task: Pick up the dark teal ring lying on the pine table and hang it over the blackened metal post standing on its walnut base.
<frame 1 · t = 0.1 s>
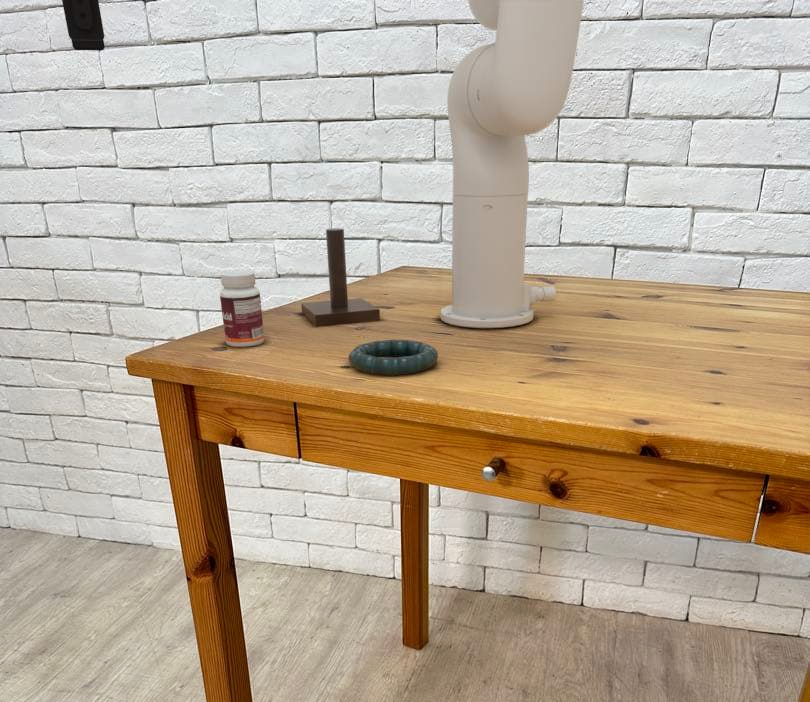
hand: (88, 45, 77), 31 cm above the table, tool pointing down, fingers open, 9 cm apart
pill bottle: (245, 344, 95), on the table
post: (340, 316, 108), on the table
ring: (393, 356, 85), point 1 cm above the table
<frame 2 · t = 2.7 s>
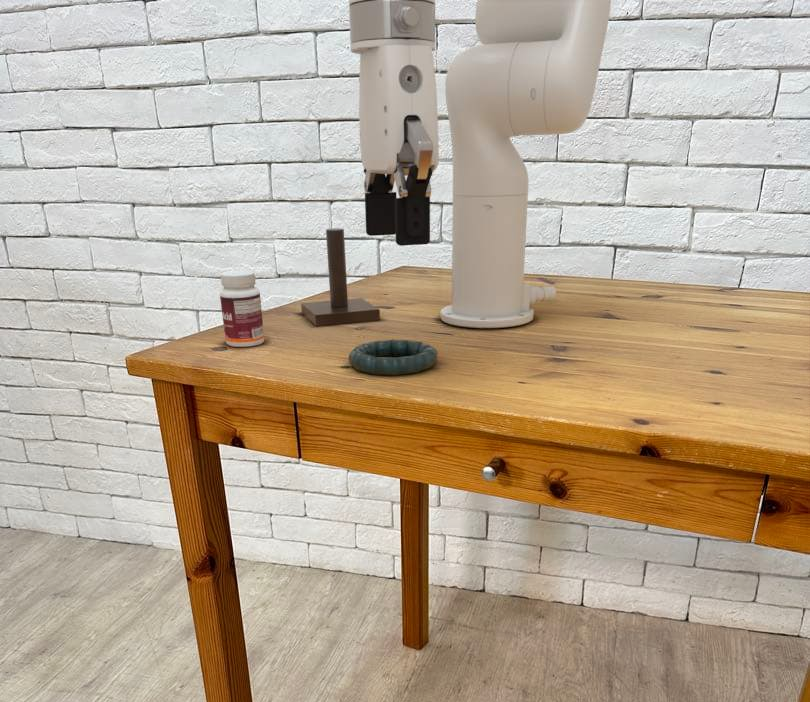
hand: (396, 239, 75), 13 cm above the table, tool pointing down, fingers open, 9 cm apart
nothing on the table moved.
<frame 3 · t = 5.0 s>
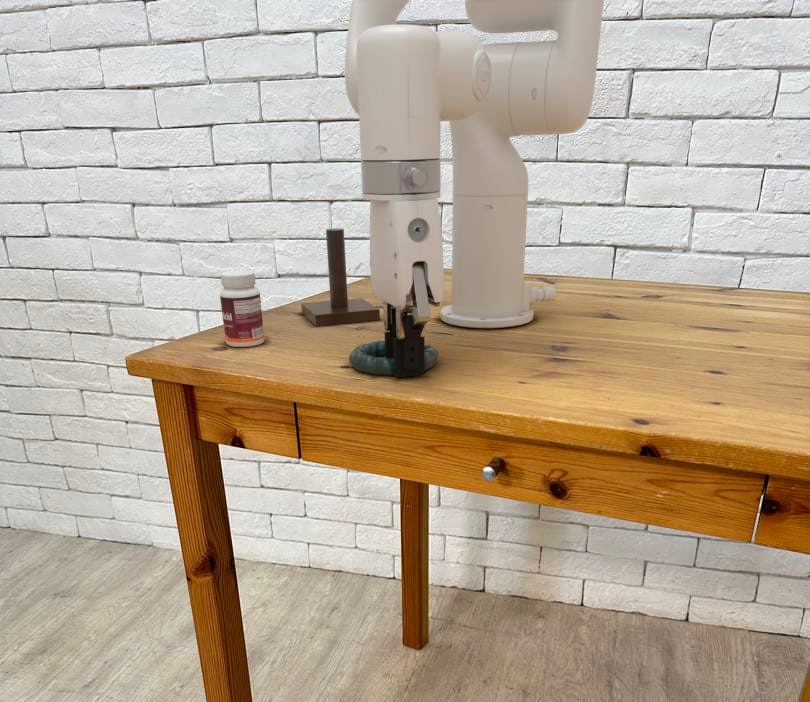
hand: (405, 370, 82), 0 cm above the table, tool pointing down, fingers closed on ring, 2 cm apart
ring: (393, 357, 84), point 1 cm above the table, touching gripper
everything else where it was.
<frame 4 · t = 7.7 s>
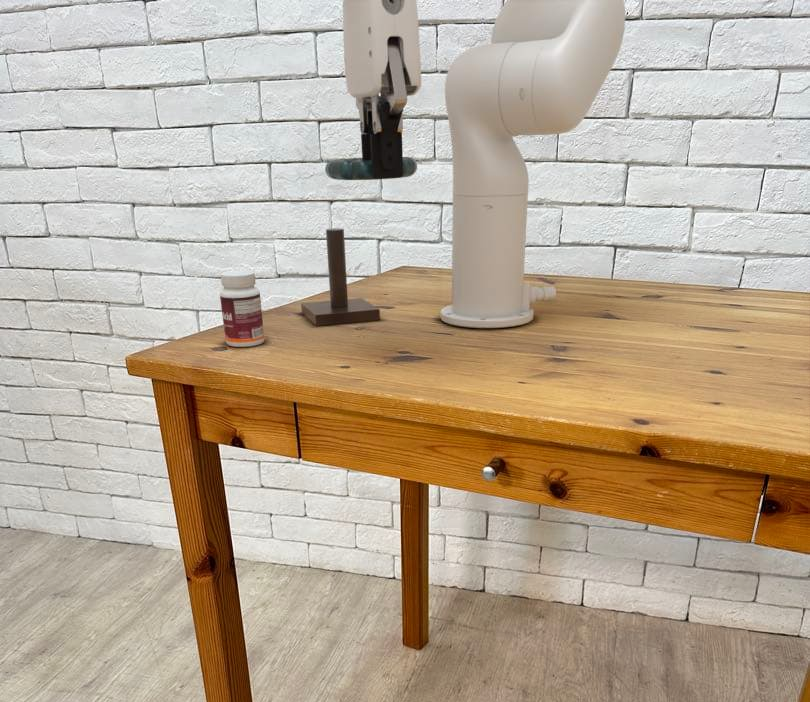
hand: (382, 175, 79), 19 cm above the table, tool pointing down, fingers closed on ring
ring: (371, 168, 82), point 19 cm above the table, touching gripper
everything else where it was.
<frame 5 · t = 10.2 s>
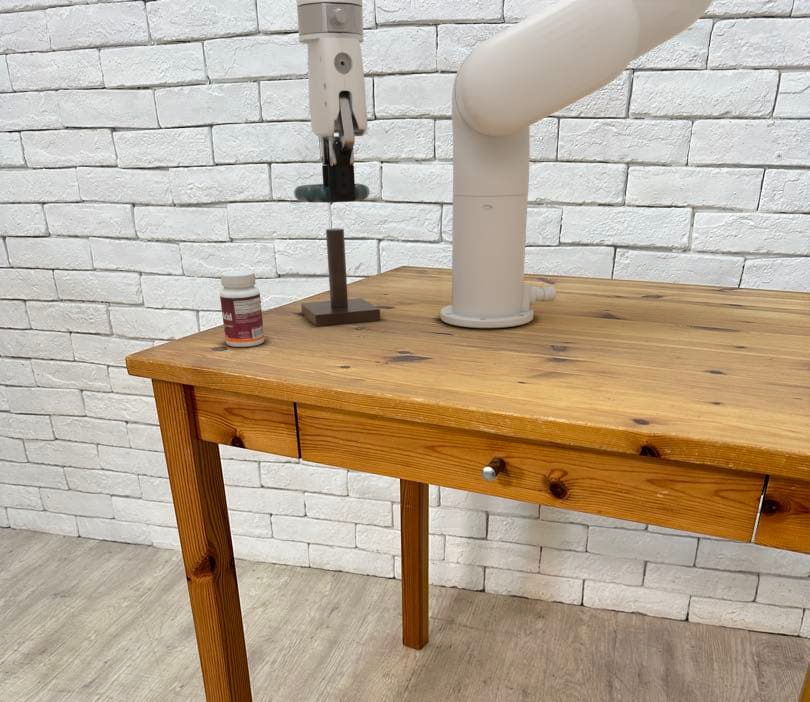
hand: (339, 199, 97), 15 cm above the table, tool pointing down, fingers closed on ring
ring: (331, 192, 100), point 16 cm above the table, touching gripper
everything else where it was.
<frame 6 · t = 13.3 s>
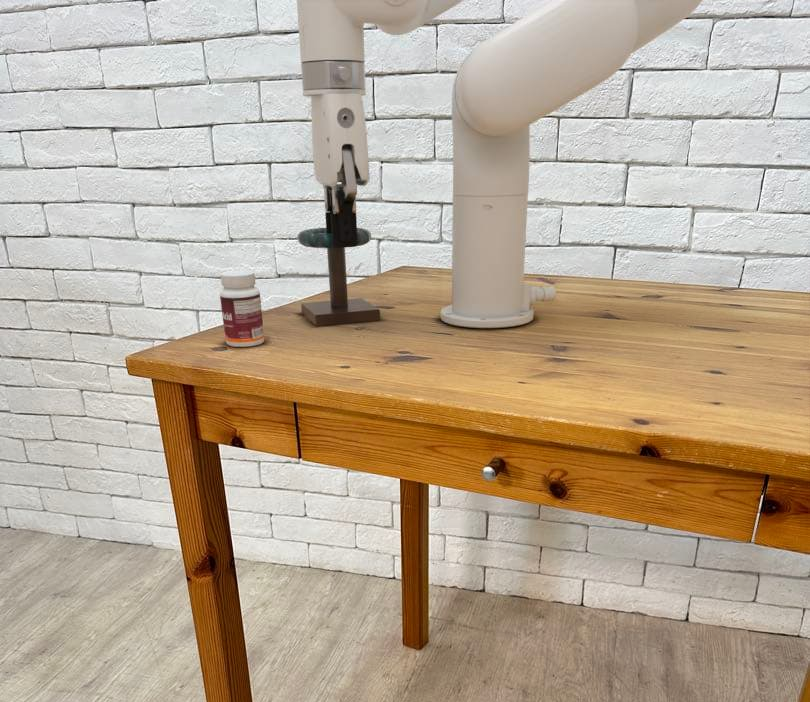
hand: (342, 244, 100), 10 cm above the table, tool pointing down, fingers closed on ring
ring: (334, 237, 103), point 11 cm above the table, touching gripper
everything else where it was.
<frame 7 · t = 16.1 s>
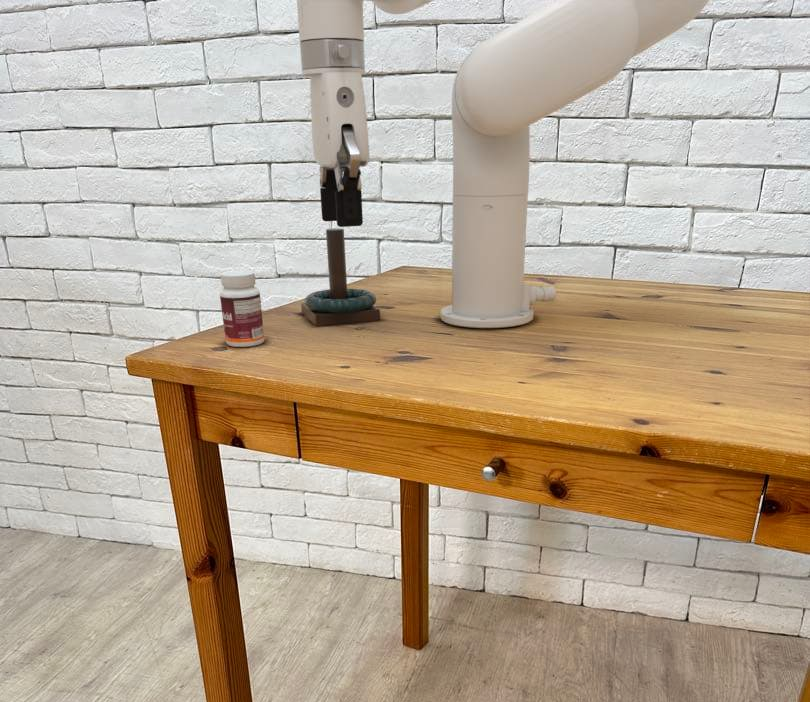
hand: (341, 222, 99), 13 cm above the table, tool pointing down, fingers open, 7 cm apart
ring: (340, 300, 106), point 2 cm above the table, touching post
everything else where it was.
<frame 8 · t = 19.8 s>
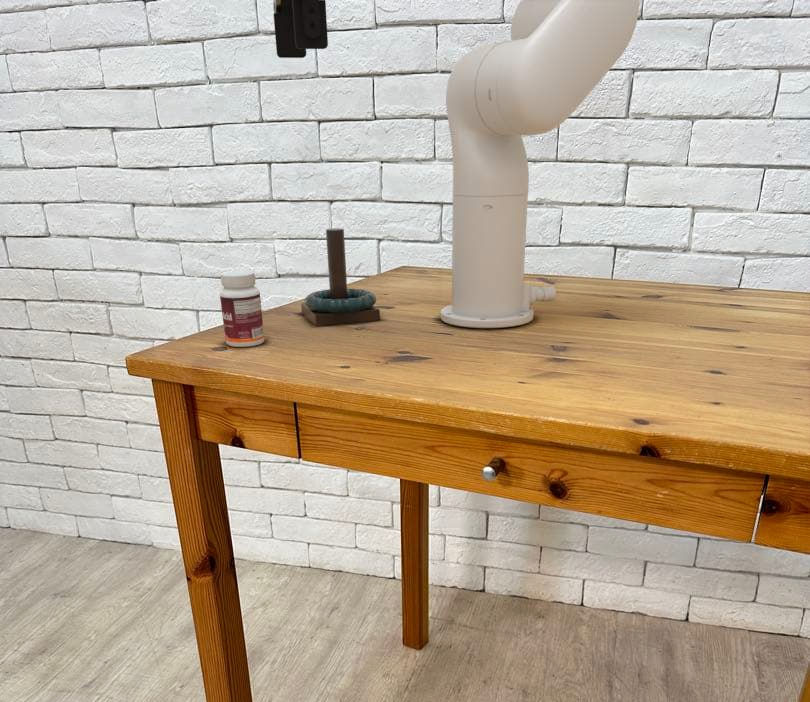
hand: (301, 53, 80), 30 cm above the table, tool pointing down, fingers open, 9 cm apart
nothing on the table moved.
at the end: ring 0.9 cm from the post (horizontally); ring point 2.4 cm above the table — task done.
